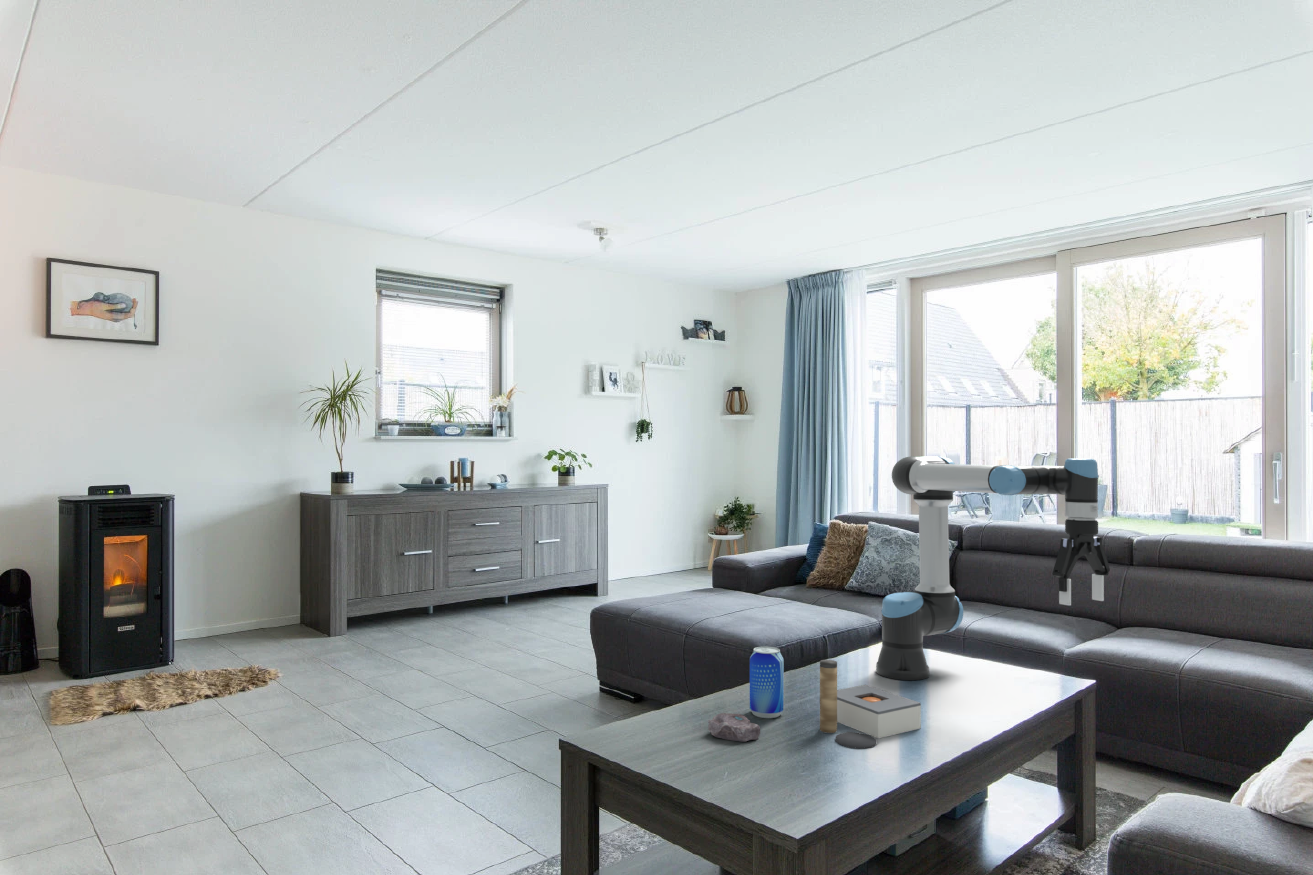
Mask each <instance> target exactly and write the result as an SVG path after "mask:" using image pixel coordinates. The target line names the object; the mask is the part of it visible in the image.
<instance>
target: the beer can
mask: <svg viewBox="0 0 1313 875" xmlns="http://www.w3.org/2000/svg"><path fill="white" fill-rule="evenodd" d="M784 662H785V661H784V657H783V655H782V653H781V650H780V648H777V647H773V646H758V647H754V648H753V652H752V654H751V655H750V657H749V710H750V711H751V712H752V715H753V716H754V717H758V718H763V719H773V718H778V717H780V716H781V714H782V712H783V711H784V703H785V702H784V695H785V694H784V693H785V692H784V689H785V688H784V682H785V681H784V680H785V678H784V677H785V676H784V670H785V668H784V667H785V666H784Z"/></svg>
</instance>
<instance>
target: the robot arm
mask: <svg viewBox="0 0 1313 875" xmlns="http://www.w3.org/2000/svg"><path fill="white" fill-rule="evenodd" d="M891 480H892V483H893V485H894V486H895V488H896V489H897V490H898V491H899V492H901V493H904V494H906V495H913V498H912V499H913V501H914V502H915V503H916V504H917V505H918V535H919V536H918V537H919V538H918V541H919V542H918V544H919V546H918V547H919V548H918V550H919V554H918V555H919V583H918V585H917V586H915V587H914V592H911V591H908V592H907V591H903V592H894V593H891V594H888V595H886V596H885V597H884V598H883V599H882V605H881V606H882V607H881V611H880V612H881V643H882V644H881V649H880V652H879V656H878V659H877V662H876V664H875V672H876V674H878V675H879V676H881V677H885V678H888V679H893V680H898V681H899V680H900V681H920V680H925V679H927V678H929V677H930V667H929V665H928V663H927V659H926V655H925V652H924V642H923V641H924V637H926V636H932V635H933V636H934V635H945V634H947V633H950V632H953V631H955V630H957V629H958V628H959V627H960V626H961V624H962V621H963V619H964V607H963V604H962V602H961V601H960V598H959V597H958V596H956V590H955V589H954V588H953V587H952V586H951V583H950V552H949V551H950V549H949V548H950V544H949V542H950V541H949V539H950V538H949V537H950V536H949V534H950V533H949V505H950V504H951V503H952V502H953V501H954V493H956V492H965V493H967V492H968V493H980V494H981V493H982V494H998V495H1003V496H1015V495H1016V496H1017V495H1063V496H1064V516H1065V517H1066V519H1065V520H1064V533H1065V534H1067V535H1069V538H1064V537H1063V538H1060V543H1059V544H1060V545H1059V549H1058V552H1057V557H1056V560H1055V563H1054V567H1053V570H1052V576H1053V577H1054V578H1055V579H1057V578H1058V591H1059V592H1058V601H1059V603H1058V604H1059V605H1064V606H1072V579H1071V578H1070V576H1071V574H1072V572H1073V570H1074V568H1075V567H1076V566H1075V565H1076V564H1077V561H1078V559H1080V558H1081V557H1085V559H1086V560H1087V562H1088V565H1089V566H1090V568H1091V569H1092V571H1093V573H1092V574H1091V600H1092V601H1093V600H1094V601H1100V602H1104V601H1105V595H1104V594H1105V591H1104V590H1105V587H1104V586H1105V576H1109V574H1110V573H1109V572H1110V570H1111V568H1110V566H1109V561H1108V559H1107V556H1106V555H1107V554H1106V552H1105V548H1104V545H1103V538H1102V537H1101V536H1097V535H1099V521H1098V520H1096V519H1097V518H1099V505H1098V504H1099V503H1098V502H1099V499H1098V498H1099V494H1098V493H1099V488H1098V487H1099V469H1098V462H1097V460H1096V459H1094V458H1066V459H1065V461H1064V464H1063V465H1042V464H1041V465H1040V464H1039V465H1038V464H1034V465H1012V464H1011V465H1007V464H1003V465H1000V464H999V465H995V464H962V463H961V464H960V463H958V464H957V463H955V462H954V461H953V460H952V459H950V458H948V457H945V456H938V455H937V456H936V455H935V456H934V455H932V456H928V455H927V456H914V455H913V456H912V455H911V456H905V457H903V458H900V460H898V461H897V462H896V463H895V465H893V467H892V471H891Z"/></svg>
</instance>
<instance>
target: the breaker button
mask: <svg viewBox="0 0 1313 875" xmlns="http://www.w3.org/2000/svg"><path fill="white" fill-rule="evenodd" d="M862 699H863V700H866V701H869V702H877V701H881V700H880V699H879V698H875V697H864V698H862Z"/></svg>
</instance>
